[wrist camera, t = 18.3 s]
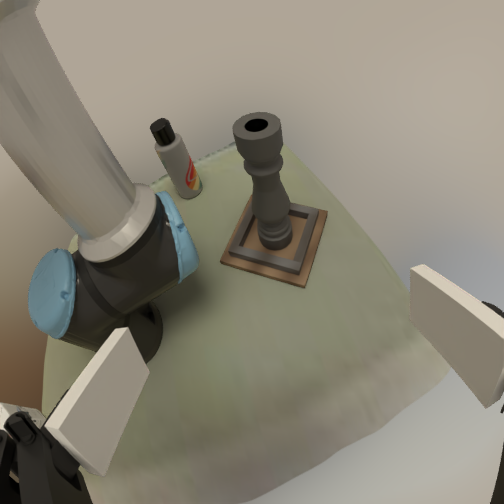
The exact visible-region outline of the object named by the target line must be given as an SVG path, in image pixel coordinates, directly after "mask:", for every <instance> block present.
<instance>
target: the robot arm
mask: <svg viewBox="0 0 504 504" xmlns="http://www.w3.org/2000/svg"><path fill="white" fill-rule="evenodd" d="M39 1H40V0H0V144H1V145H2V147H3V148H4V149H5V151H6V152H7V153H8V155H9V156H10V157H11V159H12V160H13V161H14V162H15V163H16V165H17V166H18V167H19V169H20V170H21V171H22V172H23V174H24V175H25V176H26V177H27V178H28V180H29V181H30V182H31V183H32V184H33V186H34V187H35V188H36V189H37V190H38V192H39V193H40V194H41V195H42V196H43V197H44V198H45V199H46V201H47V202H48V203H49V204H50V205H51V206H52V207H53V208H54V209H55V211H56V212H57V213H58V214H59V215H60V216H61V217H62V218H63V219H64V220H65V221H66V222H67V223H68V224H69V225H70V226H71V227H72V228H73V230H75V232H77V234H78V250H77V251H76V252H74V253H73V254H71V253H70V252H69V251H68V250H63V249H58V248H56V249H53V250H51V251H49V252H48V253H47V254H46V255H45V256H44V257H43V258H42V259H41V260H40V262H39V263H38V265H37V267H36V269H35V271H34V273H33V276H32V279H31V283H30V287H29V293H28V308H29V313H30V316H31V319H32V321H33V323H34V324H35V326H36V327H37V328H38V329H40V330H41V331H43V332H45V333H47V334H49V335H50V336H51V337H52V338H55V339H59V340H62V341H65V342H68V343H71V344H74V345H77V346H80V347H83V348H86V349H90V350H93V351H95V352H96V354H95V356H94V357H93V358H92V360H91V361H90V362H89V363H88V365H87V366H86V367H85V369H84V370H83V372H82V373H81V374H80V376H79V377H78V378H77V380H76V381H75V382H74V384H73V385H72V387H70V388H69V389H68V390H67V391H66V392H65V393H64V395H63V396H62V398H61V401H59V402H58V403H57V405H56V407H55V408H54V409H53V410H52V412H51V413H50V415H49V416H48V418H47V419H46V421H45V422H44V424H43V425H42V427H41V428H40V429H39V428H38V427H37V426H36V424H35V423H34V422H33V421H32V420H31V418H30V417H29V416H28V414H27V413H25V412H24V411H19V412H15V413H14V414H12V415H11V416H10V417H8V418H7V420H6V421H5V423H4V427H3V428H4V429H5V430H6V431H7V432H8V433H7V432H6V431H5V430H1V429H0V504H93V503H92V500H91V498H90V495H89V492H88V490H87V487H86V484H85V481H84V478H83V475H82V474H81V472H80V471H79V470H78V468H79V466H80V465H81V466H82V467H83V468H85V469H86V470H87V471H88V472H89V473H91V474H95V475H99V476H103V477H105V474H106V472H107V469H108V467H109V464H110V462H111V459H112V457H113V455H114V452H115V450H116V447H117V445H118V443H119V440H120V438H121V436H122V433H123V431H124V429H125V426H126V424H127V422H128V420H129V417H130V415H131V413H132V410H133V408H134V406H135V404H136V402H137V399H138V397H139V395H140V393H141V391H142V388H143V386H144V384H145V382H146V380H147V378H148V375H149V373H150V372H149V370H148V368H147V366H146V363H147V362H148V361H149V360H151V358H152V357H153V356H154V355H155V353H156V352H157V350H158V348H159V345H160V342H161V338H162V330H163V329H162V320H161V316H160V313H159V311H158V309H157V307H156V306H155V305H154V303H153V302H152V301H151V300H153V299H154V298H156V297H157V296H159V295H161V294H162V293H164V292H166V291H167V290H169V289H170V288H172V287H174V286H175V285H177V284H180V283H181V282H182V280H183V279H184V278H186V277H187V276H189V275H190V274H191V273H193V272H194V271H195V270H196V269H197V267H198V265H199V256H198V253H197V250H196V248H195V246H194V243H193V241H192V239H191V236H190V234H189V232H188V230H187V228H186V227H185V224H184V222H183V220H182V217H181V215H180V213H179V211H178V209H177V207H176V205H175V204H174V202H173V200H172V198H171V197H170V195H169V194H168V192H166V191H162V192H158V193H156V194H155V193H154V192H153V190H152V189H151V188H150V187H149V186H147V185H145V184H141V183H132V182H131V180H130V179H129V177H128V176H127V174H126V173H125V171H124V170H123V168H122V167H121V165H120V164H119V162H118V161H117V159H116V158H115V156H114V155H113V153H112V151H111V150H110V148H109V147H108V145H107V144H106V142H105V140H104V139H103V137H102V136H101V134H100V132H99V131H98V129H97V127H96V126H95V124H94V123H93V121H92V120H91V118H90V116H89V114H88V113H87V111H86V109H85V108H84V106H83V104H82V102H81V101H80V99H79V97H78V96H77V94H76V92H75V90H74V89H73V87H72V85H71V83H70V82H69V80H68V78H67V76H66V74H65V72H64V71H63V69H62V67H61V65H60V63H59V61H58V59H57V57H56V55H55V53H54V51H53V50H52V48H51V46H50V44H49V42H48V40H47V38H46V36H45V34H44V32H43V29H42V28H41V25H40V23H39V21H38V19H37V17H36V14H35V11H36V7H37V5H38V3H39ZM409 320H410V321H411V322H412V323H413V325H414V326H415V327H416V328H417V329H418V330H419V331H420V332H421V333H422V334H423V335H424V336H425V338H426V339H427V340H428V341H429V342H430V343H431V344H432V345H433V346H434V347H435V349H436V350H437V351H438V352H439V353H440V354H441V355H442V357H443V358H444V359H445V360H446V361H447V362H448V363H449V365H450V366H451V367H452V368H453V369H454V370H455V372H456V373H457V374H458V375H459V376H460V377H461V379H462V380H463V381H464V382H465V384H466V385H467V386H468V387H469V388H470V390H471V391H472V392H473V393H474V394H475V396H476V397H477V398H478V400H479V401H480V402H481V403H482V404H483V406H484V407H485V408H488V407H489V406H491V405H492V404H494V403H495V402H496V401H498V400H499V399H500V398H501V396H502V394H503V392H504V312H502V311H501V310H500V309H499V308H497V307H496V306H495V305H492V304H490V303H486V302H484V301H482V302H480V301H479V300H477V299H476V298H474V297H473V296H471V295H470V294H469V293H467V292H466V291H464V290H463V289H461V288H460V287H458V286H457V285H455V284H454V283H452V282H451V281H449V280H447V279H446V278H444V277H443V276H441V275H440V274H438V273H436V272H435V271H433V270H432V269H430V268H429V267H427V266H425V265H424V264H422V265H419V266H416V267H412V268H410V315H409ZM503 411H504V405H503V407H502V409H501V413H503ZM10 436H11V437H12V438H13V439H12V438H11V437H10ZM10 471H12V472H13V473H14V474H15V475H16V476H17V477H18V478H19V483H17V482H16V481H15V480H13V479H12V478H11V477H10V476H9V474H10ZM490 504H504V444H503V451H502V456H501V462H500V467H499V472H498V476H497V480H496V485H495V488H494V492H493V495H492V499H491V502H490Z"/></svg>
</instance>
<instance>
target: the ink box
mask: <svg viewBox="0 0 504 504" xmlns="http://www.w3.org/2000/svg"><path fill="white" fill-rule="evenodd" d="M19 411H24V412H25V413H27V414H28V416H29V417H30V418H31V420H32V421H33V422H34V423H35V424H36V426H37V427H38V428H39V429H40V428H41V427H42V425H43V424H44V422H45V421H46V418H45V417H44V416H43V415H42V413H41V412H40V411H38V410H37V409H32V408H27V407H21V406H15V405H11V404H6V403H0V429H1V430H5V429H4V428H3V427H4V423H5V421H6V420H7V418H8V417H10V416H11V415H12V414H14V413H15V412H19ZM5 431H6V430H5ZM6 432H7V431H6ZM7 433H8V432H7ZM10 437H11V436H10ZM11 438H12V437H11ZM12 439H13V438H12Z"/></svg>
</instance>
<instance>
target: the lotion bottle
mask: <svg viewBox="0 0 504 504" xmlns="http://www.w3.org/2000/svg"><path fill="white" fill-rule="evenodd" d="M150 130H151V132H152V134H153V136H154V138H155V140H156V144H155V150H156V152H157V154H158V156H159V158H160V160H161V162H162V163H163V165H164V167H165V169H166V170H167V173H168V174H169V176H170V178H171V180H172V182H173V183H174V185H175V187H176V189H177V191H178V192H179V194H180V195H181V197H183V198H186V199H190V198H193V197H195V196H197V195H198V194H199V193H200V192H201V190H202V183H201V181H200V178H199V176H198V174H197V172H196V169H195V167H194V165H193V162H192V160H191V158H190V156H189V153H188V151H187V149H186V147H185V144H184V142H183V140H182V138H181V136H180V135H179V134H177V133H174V131H173V129H172V127H171V125H170V122H169V121H168V120H166V119H165V118H161V119H158V120H157V121H155V122H154V123H152V124H151V126H150Z"/></svg>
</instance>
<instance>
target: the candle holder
mask: <svg viewBox="0 0 504 504" xmlns="http://www.w3.org/2000/svg"><path fill="white" fill-rule="evenodd" d="M233 134H234V138H235V142H236V146H237V150H238V152H239V153H240V154H241V156H242V157H243V158H244V159H245V160H244V169H245V170H246V172H247V173H248V174H249V175H251V176H252V180H253V194H252V203H251V205H252V212H253V214H254V215H255V217H256V218H257V219H258V220H257V231H258V235H259V239H260V242H261V244H262V245H263V246H264V247H265V248H267V249H268V250H273V251H277V250H282V249H284V248H286V247H287V246H288V245H289V244H290V243H291V241H292V237H293V233H292V224H291V220H290V217H289V215H288V213H289V210H290V200H289V197H288V195H287V193H286V191H285V189H284V187H283V185H282V183H281V180H280V175H279V171H280V170H281V168H282V165H283V159H282V156H281V155H280V151H281V148H282V146H283V139H282V130H281V123H280V119H279V118H278V117H277V116H275V115H273V114H270V113H266V112H256V113H250V114H248V115H245V116H242V117H241V118H239V119H238V120H237V121H236V122H235V123H234V125H233Z"/></svg>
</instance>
